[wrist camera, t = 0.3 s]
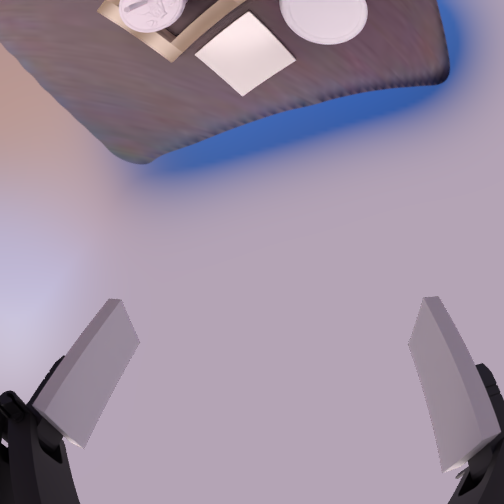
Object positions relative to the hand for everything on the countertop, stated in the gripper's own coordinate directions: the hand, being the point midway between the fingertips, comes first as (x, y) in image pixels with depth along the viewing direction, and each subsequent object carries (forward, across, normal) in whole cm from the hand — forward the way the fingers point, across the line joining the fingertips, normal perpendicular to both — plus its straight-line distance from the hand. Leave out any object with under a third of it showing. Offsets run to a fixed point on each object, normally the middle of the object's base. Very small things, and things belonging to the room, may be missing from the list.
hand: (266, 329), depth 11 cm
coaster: (+26, +6, +23) cm, 35 cm away
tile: (+29, -4, +17) cm, 33 cm away
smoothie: (+23, -10, +26) cm, 36 cm away
